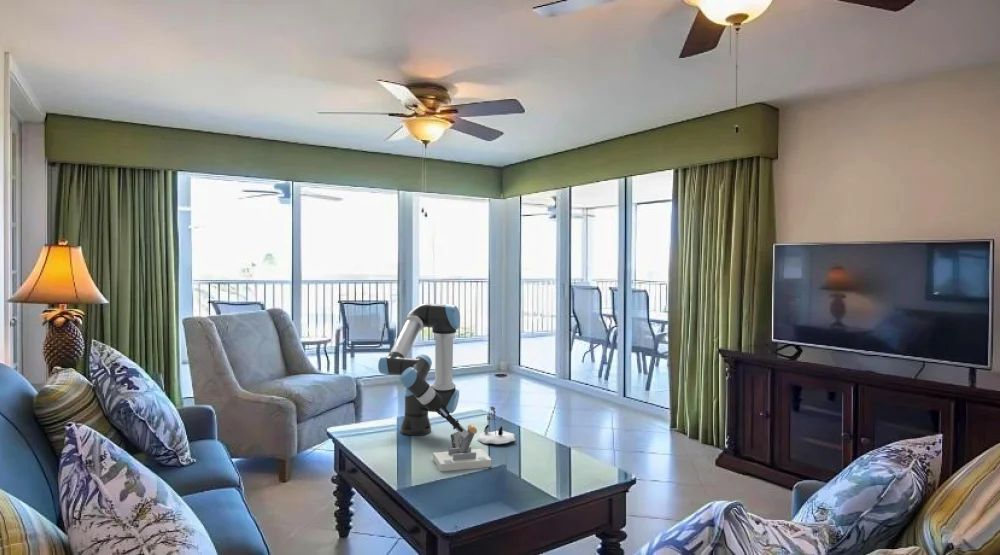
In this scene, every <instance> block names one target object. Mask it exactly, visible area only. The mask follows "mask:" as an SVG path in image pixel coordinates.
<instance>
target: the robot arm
mask: <svg viewBox="0 0 1000 555" xmlns="http://www.w3.org/2000/svg"><path fill="white" fill-rule="evenodd" d="M403 324H404V325H403V327H402V329H401V330H400V333H399V334H398V336H397V338H396V340H395V342H394V343H393V346H392V348H391V350H390V352H389V354H388V356H386V355H385V356H381V357H380V358H379V359H378V364H377V367H378V368H377V369H378V371H379V373H380V374H382V375H390V376H399V382H400V383H401V384H402V385H403V387H404V388H405V390H404V391H405V393H404V415H403V416H404V417H403V418H402V419H403V420H402V422H401V425H400V430H399V431H400V432H401V434H403V435H406V436H407V435H408V436H423V435H427V434H429V433H431V431H432V425H431V422H430V418H429V413H430V412H431V413H437V415H440V416H441V418H443V419H446V421H448V423H449V425H451V426H452V429H453V430H456V432H459V433H460V434H461V435H462V436H463V437H464V438H465V437H466V436H467V435H468V434H469V433H468V432H467V429H465V428H464V427H463V426H462V425H461V424H460V421H459V419H456V418H454V417H453V416H452V414H453V413H455V411H456V409H457V407H458V405H459V400H460V399H459V398H460V390H459V389H457V388H456V384H455V383H454V382H453V379H454V378H453V371H454V368H453V367H454V366H453V364H454V362H453V361H454V359H453V358H454V356H453V355H454V335H455V334H456V333H457V330H459V329H460V328H461V327H460V326H461V314H460V311H459V308H458V306H456V305H454V304H448V303H428V302H427V303H422V304H419V305H417V306H415V307H414V308H413V309H412V310H410V311H409V312H408V314H407V315H406V316H405V319H404V321H403ZM424 328H431V331H432V332H431V333H433V335H434V336H435V341H434V346H435V347H434V348H435V349H434V350H435V351H434V353H435V354H434V356H435V358H434V360H435V361H434V363H435V364H434V375H435V376H434V383H433V384H432V385H430V384H429V383H428V381H426V378H427V376H428V374H429V373H430V371H431V368H432V366H433V365H432V364H433V362H432V359H431V358H430V357H429V356H428V355H427V354H424V353H422V354H419V355H416V357H415V358H409V357H408V355H409V353H410V351H411V348H412V347H413V344H414V342H415V341H416V338H417V336H418V334H419V332H421V331H422V330H424Z"/></svg>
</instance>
